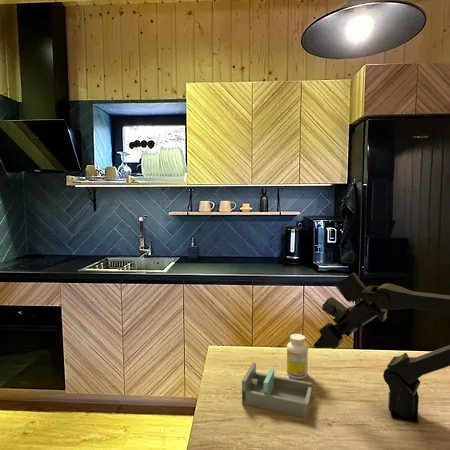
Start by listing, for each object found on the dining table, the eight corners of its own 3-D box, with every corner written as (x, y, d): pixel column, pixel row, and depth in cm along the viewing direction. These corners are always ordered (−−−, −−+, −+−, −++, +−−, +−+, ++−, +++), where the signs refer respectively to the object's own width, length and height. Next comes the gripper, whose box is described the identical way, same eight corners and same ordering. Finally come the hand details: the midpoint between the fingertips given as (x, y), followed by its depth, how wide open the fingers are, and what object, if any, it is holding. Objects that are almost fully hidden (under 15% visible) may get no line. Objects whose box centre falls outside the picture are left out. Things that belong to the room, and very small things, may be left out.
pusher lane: (312, 395, 103) (312, 373, 102) (307, 418, 93) (307, 393, 92) (252, 383, 109) (252, 362, 108) (241, 403, 99) (242, 380, 98)
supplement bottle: (292, 367, 119) (293, 330, 118) (310, 373, 115) (311, 336, 114) (282, 375, 114) (283, 337, 113) (301, 382, 110) (302, 343, 108)
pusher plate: (274, 386, 105) (274, 368, 105) (267, 402, 98) (267, 383, 97) (270, 385, 106) (270, 368, 105) (263, 401, 98) (263, 382, 97)
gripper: (351, 284, 110) (316, 311, 118) (327, 299, 96) (290, 328, 104) (376, 314, 106) (338, 339, 114) (355, 334, 92) (314, 362, 100)
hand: (320, 341), depth 108 cm, fingers open, 9 cm apart
